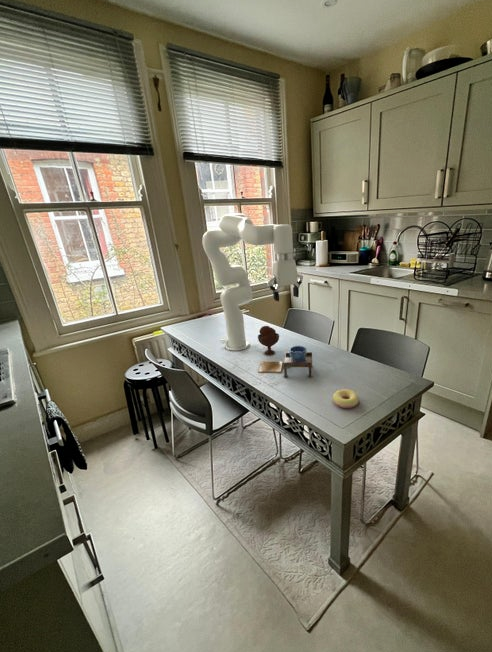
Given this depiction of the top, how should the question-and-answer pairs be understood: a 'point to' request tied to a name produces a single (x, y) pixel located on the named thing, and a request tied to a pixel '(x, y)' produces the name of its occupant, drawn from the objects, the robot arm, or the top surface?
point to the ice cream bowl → (268, 338)
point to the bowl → (297, 353)
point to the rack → (298, 363)
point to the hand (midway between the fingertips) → (286, 298)
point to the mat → (271, 367)
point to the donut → (345, 402)
